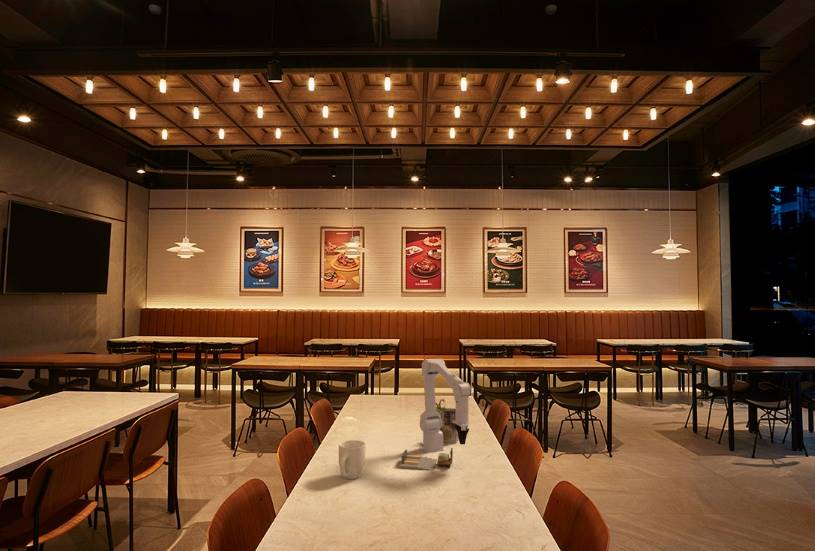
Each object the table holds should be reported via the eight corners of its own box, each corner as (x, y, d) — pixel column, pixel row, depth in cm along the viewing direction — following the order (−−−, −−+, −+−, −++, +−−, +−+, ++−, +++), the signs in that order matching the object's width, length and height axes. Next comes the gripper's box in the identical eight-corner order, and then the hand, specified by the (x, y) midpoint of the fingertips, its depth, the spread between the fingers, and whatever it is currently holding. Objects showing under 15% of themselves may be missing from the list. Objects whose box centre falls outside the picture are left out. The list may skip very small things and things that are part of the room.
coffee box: (458, 440, 233) (459, 408, 234) (456, 443, 227) (456, 411, 228) (442, 438, 236) (442, 407, 237) (438, 441, 230) (439, 409, 231)
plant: (456, 421, 271) (456, 403, 272) (424, 421, 272) (424, 402, 273) (454, 413, 291) (454, 396, 292) (424, 413, 292) (424, 395, 293)
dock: (436, 459, 203) (436, 449, 203) (433, 471, 189) (434, 460, 190) (404, 457, 205) (404, 447, 206) (399, 468, 192) (399, 458, 192)
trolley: (452, 463, 198) (452, 448, 198) (452, 468, 192) (452, 452, 193) (438, 462, 199) (438, 447, 199) (437, 467, 193) (437, 451, 194)
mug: (354, 487, 172) (355, 452, 173) (328, 483, 175) (329, 449, 176) (369, 473, 186) (369, 441, 187) (345, 470, 189) (345, 438, 190)
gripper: (451, 407, 203) (451, 437, 202) (454, 415, 189) (454, 447, 188) (467, 407, 203) (467, 437, 202) (470, 415, 189) (470, 448, 188)
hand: (461, 442), depth 195 cm, fingers open, 3 cm apart
